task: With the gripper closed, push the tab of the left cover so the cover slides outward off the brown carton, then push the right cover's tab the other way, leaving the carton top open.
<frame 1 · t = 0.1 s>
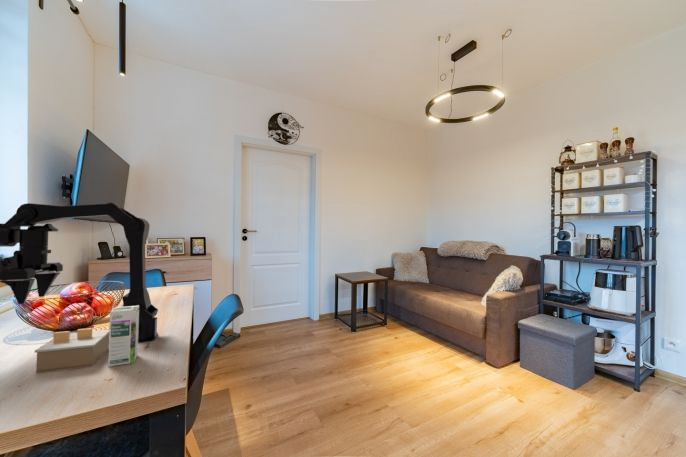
hand: (31, 300, 84), 15 cm above the table, tool pointing down, fingers open, 9 cm apart
right cover: (82, 331, 81), point 7 cm above the table, slide at 0.0 cm
carton: (75, 360, 78), on the table
left cover: (71, 339, 75), point 7 cm above the table, slide at 0.0 cm
syrup box: (123, 361, 78), on the table
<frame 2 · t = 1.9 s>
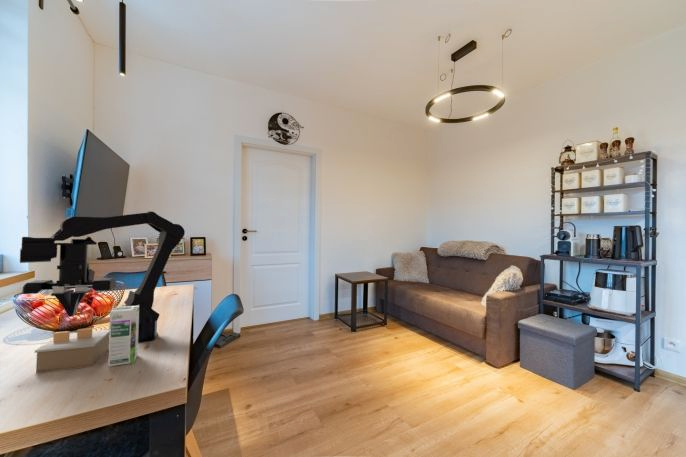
hand: (71, 315, 81), 11 cm above the table, tool pointing down, fingers closed
nothing on the table moved.
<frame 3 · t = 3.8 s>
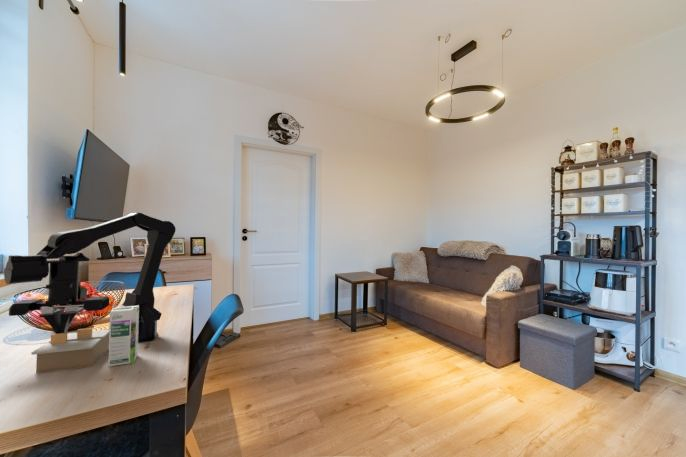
hand: (61, 337, 77), 7 cm above the table, tool pointing down, fingers closed, pressing on left cover
left cover: (68, 341, 74), point 7 cm above the table, slide at 1.2 cm, touching gripper
everything else where it was.
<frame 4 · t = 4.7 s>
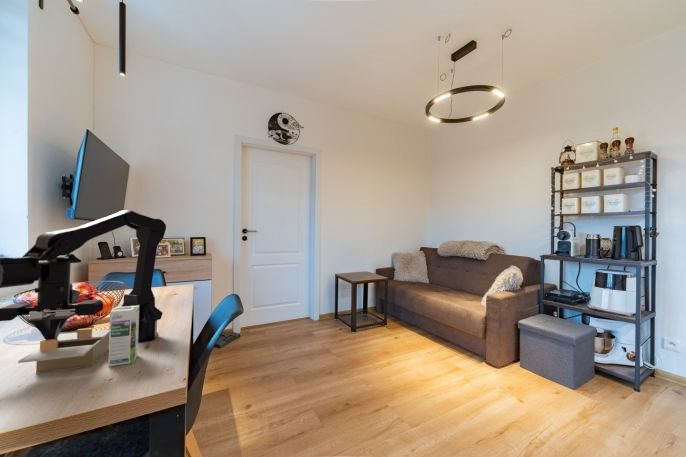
hand: (51, 343, 72), 7 cm above the table, tool pointing down, fingers closed, pressing on left cover
left cover: (59, 348, 70), point 7 cm above the table, slide at 6.0 cm, touching gripper
everything else where it was.
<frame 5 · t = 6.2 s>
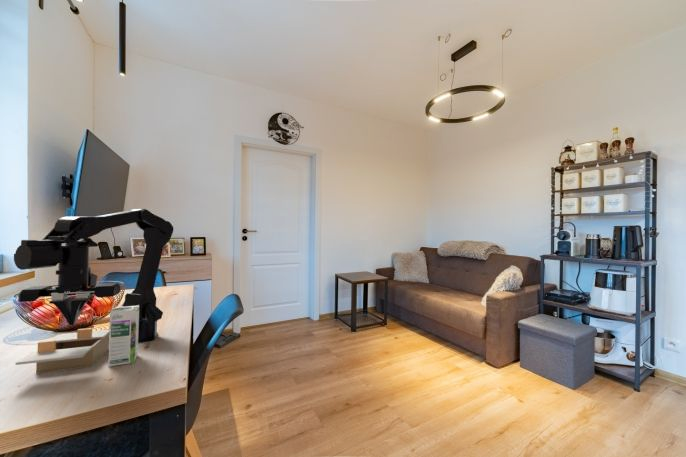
hand: (72, 324, 75), 11 cm above the table, tool pointing down, fingers closed
left cover: (57, 349, 69), point 7 cm above the table, slide at 6.9 cm
everything else where it was.
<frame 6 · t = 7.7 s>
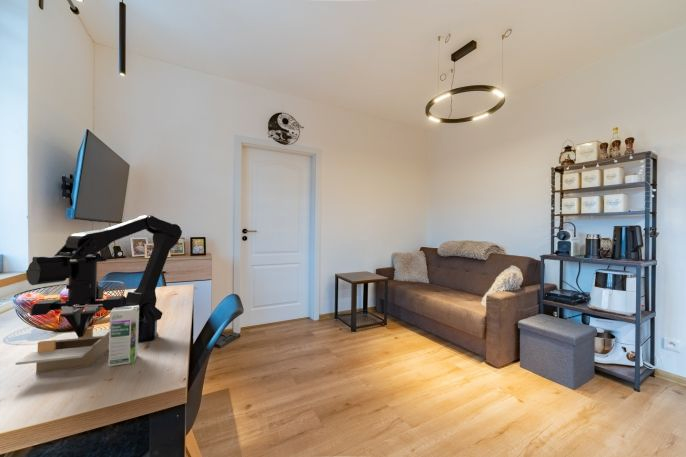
hand: (81, 336, 78), 6 cm above the table, tool pointing down, fingers closed
right cover: (82, 331, 82), point 7 cm above the table, slide at 0.5 cm, touching gripper
everything else where it was.
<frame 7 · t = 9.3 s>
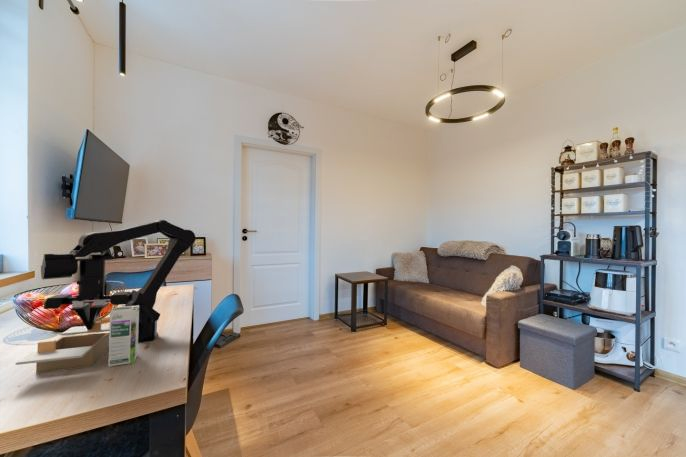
hand: (90, 329, 84), 6 cm above the table, tool pointing down, fingers closed, pressing on right cover
right cover: (91, 324, 87), point 7 cm above the table, slide at 6.4 cm, touching gripper
everything else where it was.
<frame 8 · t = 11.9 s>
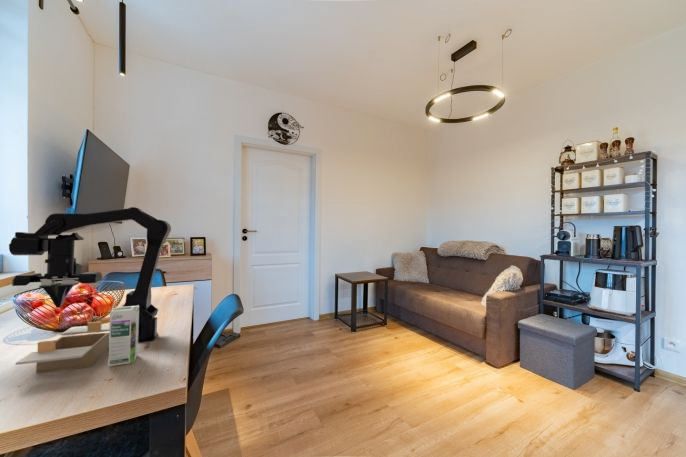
hand: (59, 307, 86), 12 cm above the table, tool pointing down, fingers closed
right cover: (91, 324, 87), point 7 cm above the table, slide at 6.4 cm
everything else where it was.
at the end: left cover slide at 6.9 cm; right cover slide at 6.4 cm; syrup box moved 0.2 cm from its start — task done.
